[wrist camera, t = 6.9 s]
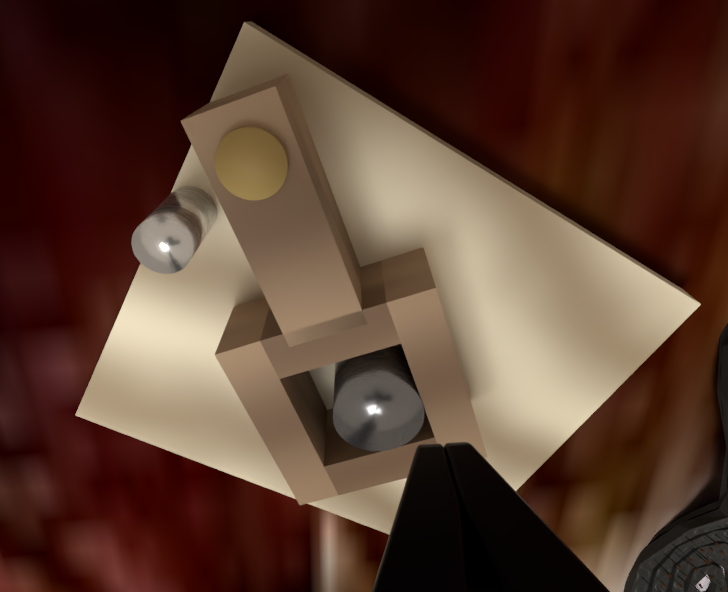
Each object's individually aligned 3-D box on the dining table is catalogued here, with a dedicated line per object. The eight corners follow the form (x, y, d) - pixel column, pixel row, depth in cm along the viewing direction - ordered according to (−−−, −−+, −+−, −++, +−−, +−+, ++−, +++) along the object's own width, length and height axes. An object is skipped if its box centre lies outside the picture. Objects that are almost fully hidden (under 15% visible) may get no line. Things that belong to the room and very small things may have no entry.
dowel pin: (205, 241, 18) (179, 283, 15) (159, 219, 17) (123, 257, 15) (224, 201, 17) (200, 237, 14) (177, 176, 17) (143, 208, 14)
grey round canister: (385, 385, 22) (393, 462, 18) (322, 356, 21) (316, 430, 18) (425, 332, 21) (442, 403, 17) (360, 299, 20) (362, 365, 16)
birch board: (445, 535, 27) (449, 557, 26) (88, 396, 22) (75, 415, 21) (682, 289, 20) (700, 304, 19) (251, 21, 16) (244, 21, 15)
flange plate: (470, 401, 21) (489, 463, 18) (305, 446, 22) (299, 512, 19) (361, 45, 15) (364, 53, 12) (140, 128, 16) (94, 153, 13)
